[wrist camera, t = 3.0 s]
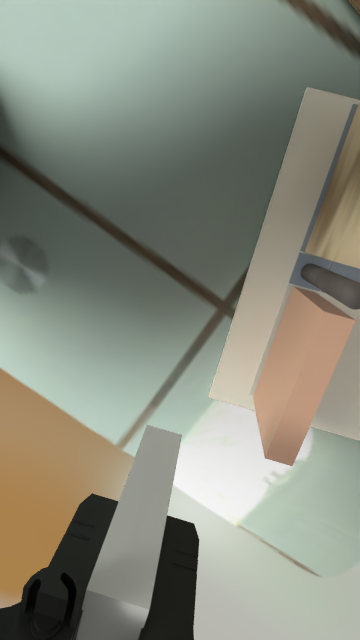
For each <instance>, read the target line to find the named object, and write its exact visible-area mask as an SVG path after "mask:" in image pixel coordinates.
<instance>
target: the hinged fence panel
mask: <svg viewBox="0 0 360 640" xmlns="http://www.w3.org/2000/svg"><path fill="white" fill-rule="evenodd" d="M355 321H356V320H355V319H353V318H352V317H350V316H349V315H347V314H346V313H345V312H343V311H342V310H340V309H339V308H337V307H336V306H335V305H333V304H332V303H330V302H329V301H327V300H326V299H324V298H323V297H322V296H320V295H319V294H317V293H316V292H312V291H308V290H305V289H301V288H297V287H294V286H293V289H292V292H291V294H290V297H289V300H288V303H287V305H286V308H285V311H284V313H283V316H282V319H281V322H280V324H279V327H278V330H277V333H276V335H275V338H274V341H273V344H272V346H271V349H270V352H269V355H268V357H267V360H266V363H265V366H264V368H263V371H262V374H261V377H260V379H259V382H258V385H257V387H256V390H255V393H254V396H253V400H254V405H255V410H256V415H257V420H258V425H259V430H260V435H261V440H262V445H263V450H264V455H265V458H266V459H270V460H273V461H277V462H280V463H283V464H287V465H290V466H293V463H294V461H295V459H296V456H297V454H298V452H299V450H300V447H301V445H302V443H303V440H304V438H305V436H306V434H307V431H308V429H309V427H310V424H311V422H312V420H313V418H314V415H315V413H316V411H317V408H318V406H319V404H320V402H321V399H322V397H323V395H324V392H325V390H326V388H327V386H328V383H329V381H330V379H331V376H332V374H333V372H334V370H335V367H336V365H337V363H338V360H339V358H340V356H341V354H342V351H343V349H344V347H345V344H346V342H347V340H348V337H349V335H350V333H351V331H352V328H353V326H354V324H355Z"/></svg>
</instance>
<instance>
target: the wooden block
mask: <svg viewBox="0 0 360 640" xmlns="http://www.w3.org/2000/svg"><path fill="white" fill-rule="evenodd" d="M348 1H349V2H350V3H351V5H352V6H353V7H354V9H355V10H356V11H357V12H358V14H359V15H360V0H348Z"/></svg>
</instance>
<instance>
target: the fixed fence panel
mask: <svg viewBox="0 0 360 640" xmlns="http://www.w3.org/2000/svg"><path fill="white" fill-rule="evenodd" d="M305 252H306V253H309V254H312V255H316V256H319V257H322V258H325V259H328V260H331V261H335V262H338V263H341V264H344V265H348V266H352V267H355V268H359V269H360V104H359V105H358V107H357V110H356V112H355V115H354V118H353V121H352V123H351V126H350V129H349V132H348V134H347V137H346V140H345V143H344V145H343V148H342V151H341V154H340V156H339V159H338V162H337V165H336V167H335V170H334V173H333V176H332V178H331V181H330V184H329V187H328V189H327V192H326V195H325V198H324V200H323V203H322V206H321V209H320V211H319V214H318V217H317V220H316V222H315V225H314V228H313V231H312V233H311V236H310V239H309V242H308V244H307V247H306V250H305ZM301 276H302V278H303V279H304V280H306V281H308V282H309V283H311V284H312V285H314V286H315V287H317V288H319V289H320V290H322V291H323V292H325V293H326V294H328V295H330V296H331V297H333V298H334V299H336V300H337V301H339V302H340V303H342V304H344V305H345V306H347V307H348V308H350V309H354V310H357V309H360V283H359V282H356V281H354V280H352V279H349V278H347V277H344V276H342V275H339V274H337V273H334V272H332V271H330V270H327V269H325V268H322V267H320V266H317V265H315V264H312V263H309V264H306V265H305V266H303V268H302V269H301Z"/></svg>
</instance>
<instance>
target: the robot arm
mask: <svg viewBox="0 0 360 640" xmlns="http://www.w3.org/2000/svg"><path fill="white" fill-rule="evenodd" d="M181 436H182V435H180V434H176V433H173V432H169V431H166V430H163V429H159V428H156V427H153V426H149V425H147V427H146V429H145V432H144V435H143V438H142V440H141V443H140V446H139V448H138V451H137V454H136V456H135V459H134V462H133V465H132V468H131V470H130V473H129V475H128V478H127V481H126V484H125V486H124V489H123V492H122V494H121V497H120V500H119V502H118V501H115V500H112V499H108V498H105V497H102V496H98V495H95V494H91V495H90V496H89V497H87V498H86V499H85V500H84V501H83V502H82V503H81V504H80V505H79V507H78V509H77V511H76V513H75V515H74V517H73V519H72V521H71V523H70V525H69V527H68V529H67V531H66V533H65V535H64V537H63V538H62V541H61V542H60V544H59V546H58V549H57V550H56V552H55V554H54V556H53V558H52V560H51V562H50V564H49V566H48V567H47V568H43V569H41V570H40V571H38V572H37V573H36V574H34V575H33V576H32V577H31V578H30V579H29V581H28V582H27V583H26V585H25V586H24V588H23V594H22V600H21V602H20V603H18V604H15V605H13V606H11V607H6V608H1V609H0V640H194V635H193V625H194V609H195V595H196V579H197V564H198V560H197V559H198V548H199V538H198V535H197V531H196V528H195V525H194V524H193V523H190V522H187V521H183V520H180V519H177V518H174V517H171V516H167V512H168V507H169V501H170V495H171V490H172V485H173V480H174V474H175V469H176V463H177V458H178V453H179V447H180V442H181Z"/></svg>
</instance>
